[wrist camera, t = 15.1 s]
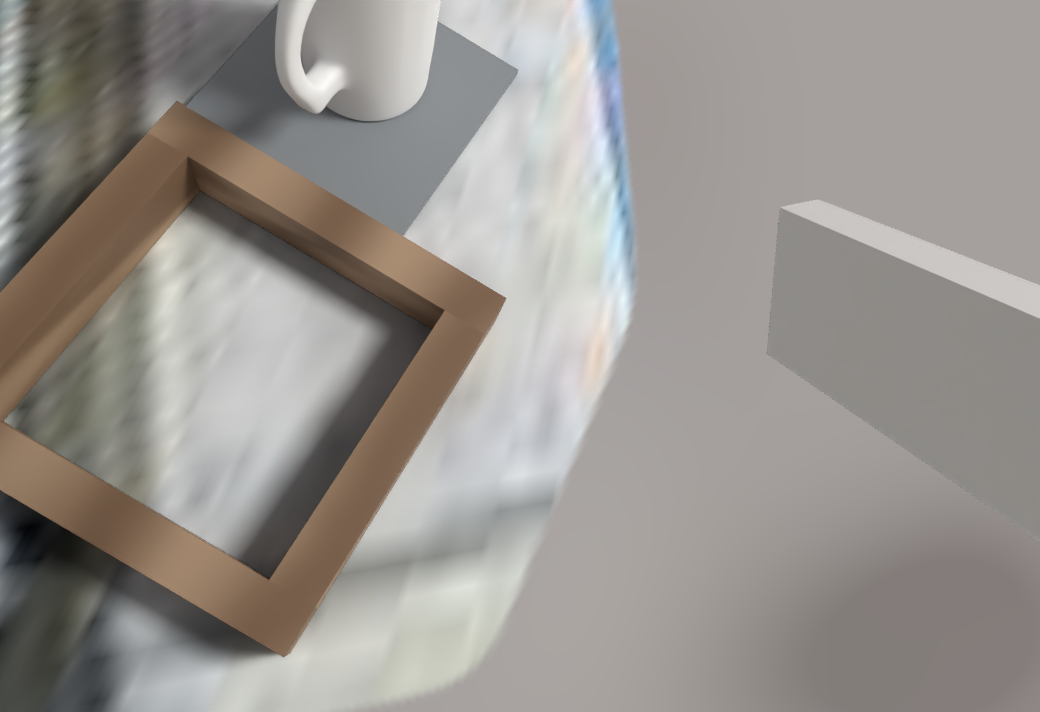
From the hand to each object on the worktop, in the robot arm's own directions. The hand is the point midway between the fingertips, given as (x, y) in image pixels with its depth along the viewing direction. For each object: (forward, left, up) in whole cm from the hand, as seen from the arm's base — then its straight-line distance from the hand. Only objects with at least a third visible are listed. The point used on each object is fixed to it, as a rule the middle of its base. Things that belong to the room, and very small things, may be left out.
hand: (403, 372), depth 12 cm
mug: (-12, +18, -24) cm, 32 cm away
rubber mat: (-12, +18, -24) cm, 32 cm away
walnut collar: (-9, +3, -24) cm, 25 cm away
